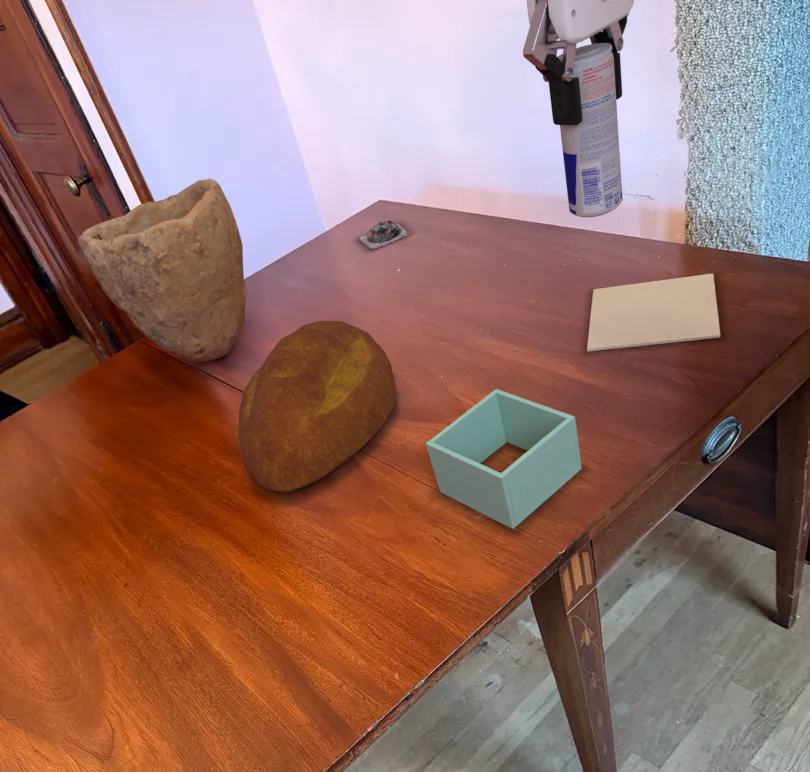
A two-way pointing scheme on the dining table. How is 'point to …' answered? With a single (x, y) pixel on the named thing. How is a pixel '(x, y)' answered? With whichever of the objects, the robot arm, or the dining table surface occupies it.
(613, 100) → the beverage can
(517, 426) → the open square box
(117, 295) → the bowl
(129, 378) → the dining table surface
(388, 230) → the rusty domed plate
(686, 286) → the mat
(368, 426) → the bread
